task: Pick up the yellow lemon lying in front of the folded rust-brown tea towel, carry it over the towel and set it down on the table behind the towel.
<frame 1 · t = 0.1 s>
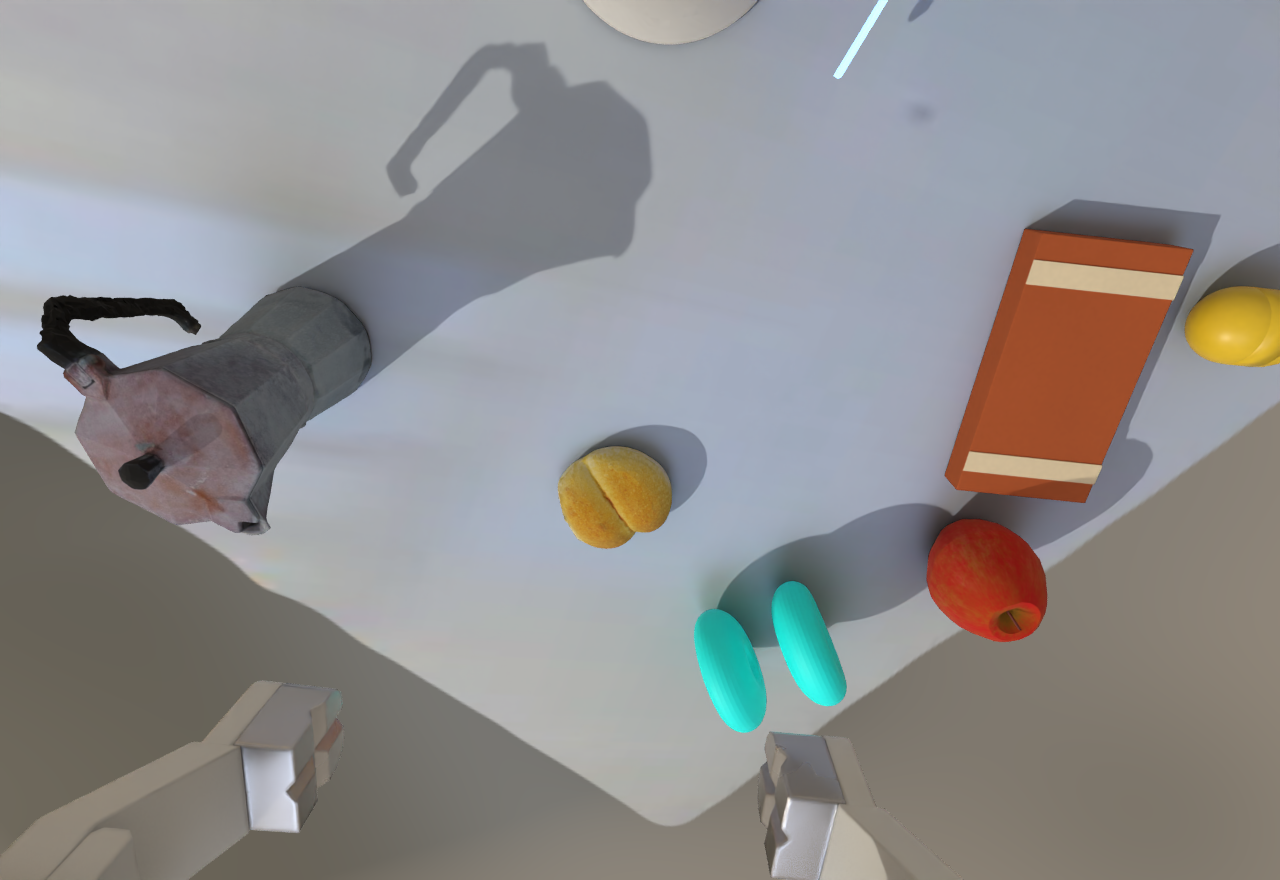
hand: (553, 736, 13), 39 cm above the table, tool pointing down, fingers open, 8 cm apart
tea towel: (1047, 368, 49), on the table
donuts: (760, 614, 59), on the table
bread roll: (614, 490, 55), on the table
apple: (958, 541, 56), on the table
moka pot: (310, 341, 50), on the table
lemon: (1218, 317, 47), on the table
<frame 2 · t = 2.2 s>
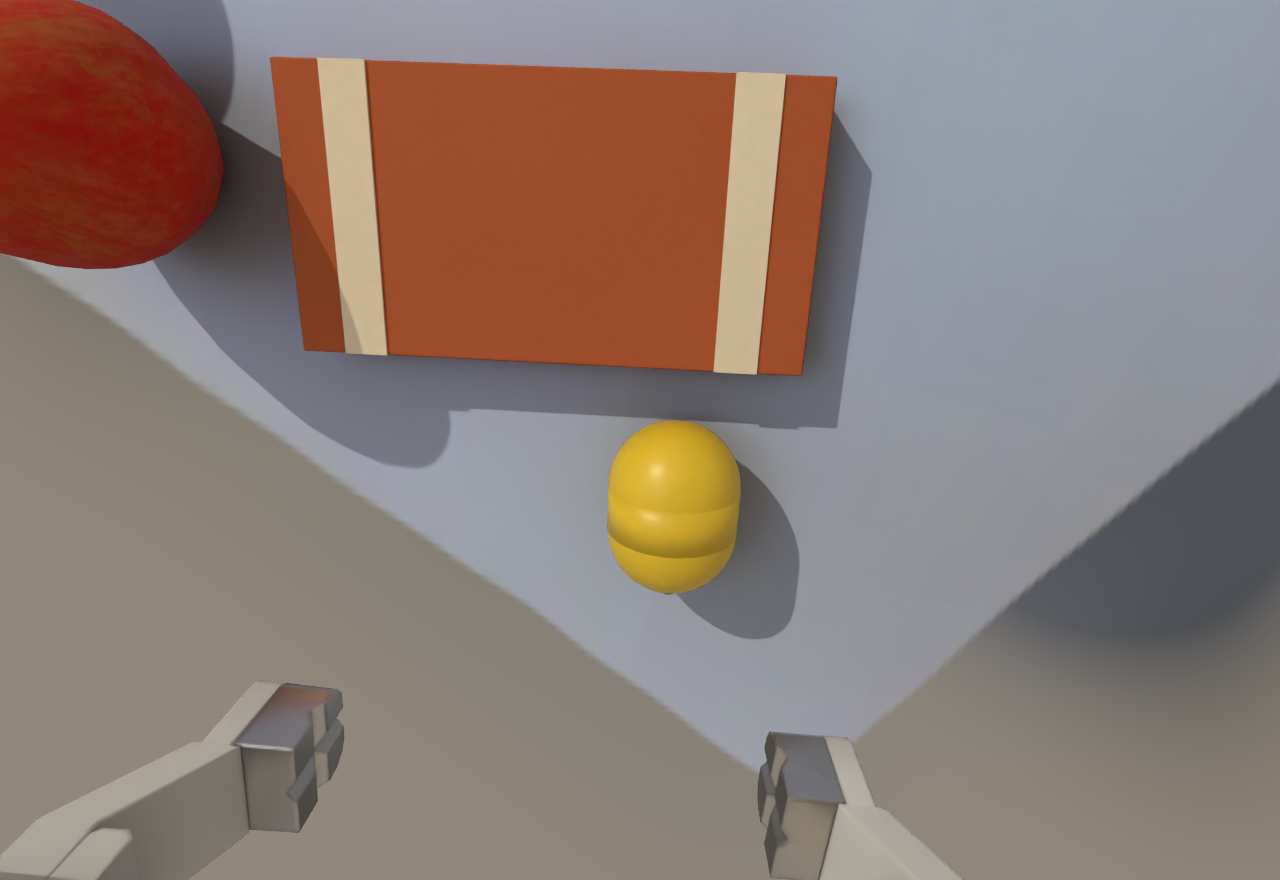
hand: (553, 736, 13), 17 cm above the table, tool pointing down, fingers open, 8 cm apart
tea towel: (560, 224, 26), on the table
apple: (167, 153, 26), on the table
lemon: (673, 482, 29), on the table
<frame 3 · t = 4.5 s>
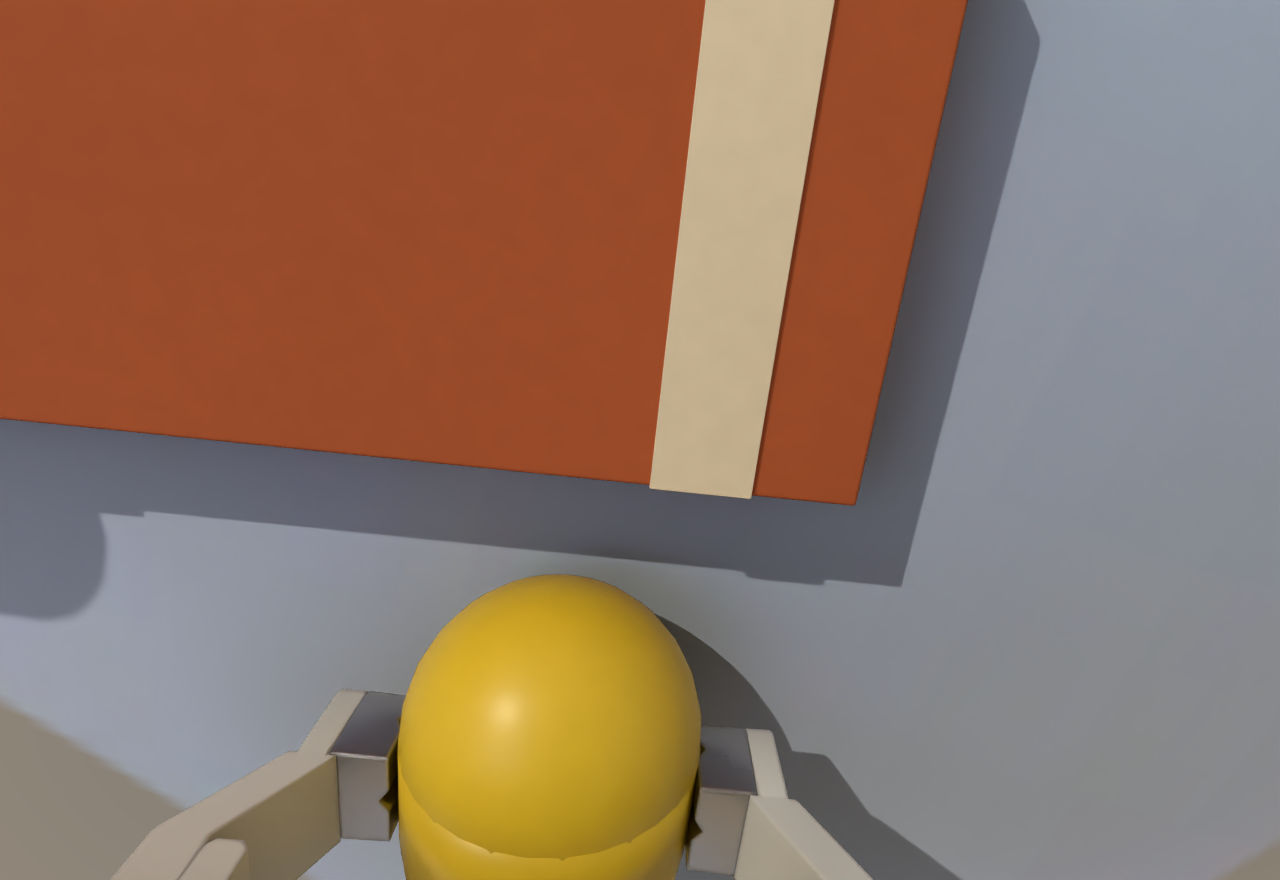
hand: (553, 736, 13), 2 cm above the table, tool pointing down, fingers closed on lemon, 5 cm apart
tea towel: (313, 118, 11), on the table
lemon: (569, 671, 15), on the table, touching gripper
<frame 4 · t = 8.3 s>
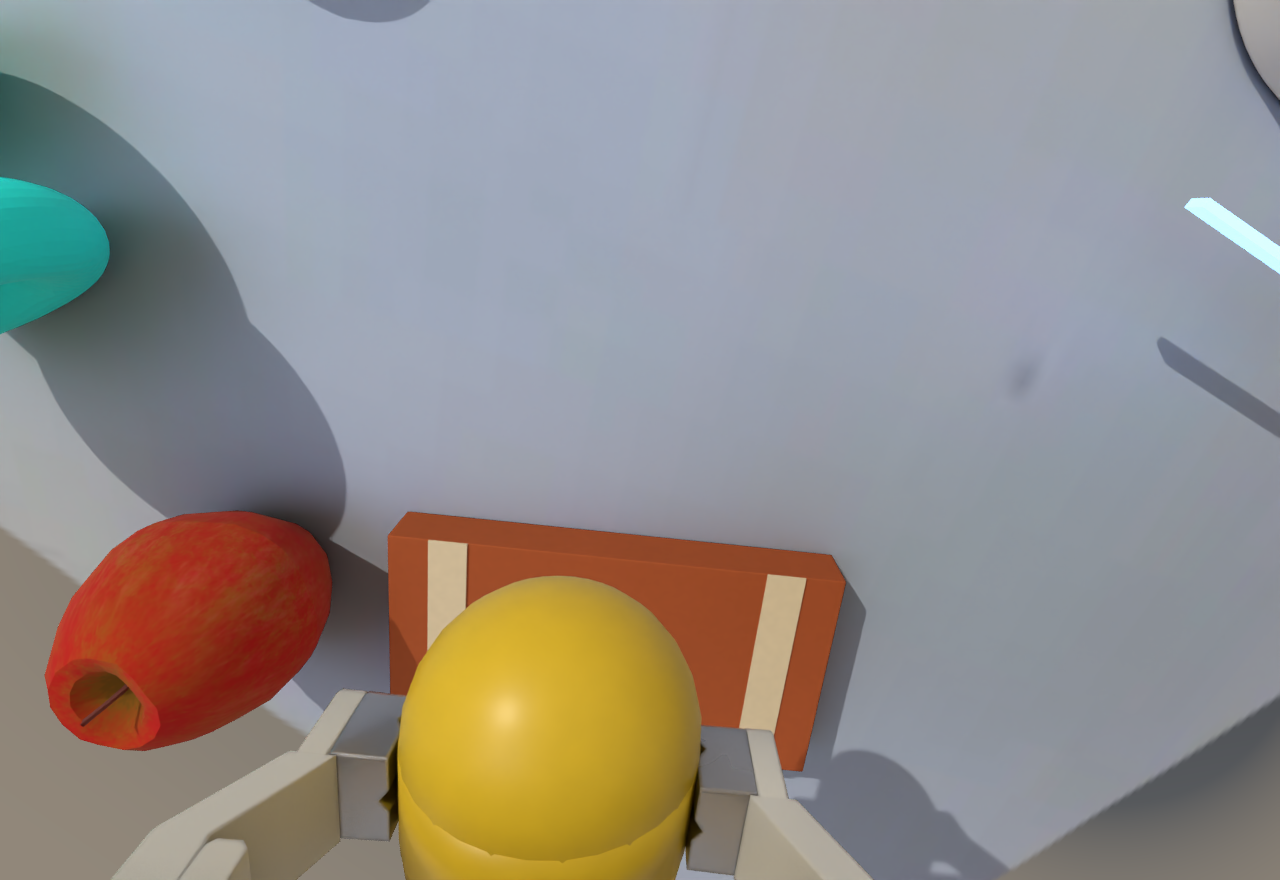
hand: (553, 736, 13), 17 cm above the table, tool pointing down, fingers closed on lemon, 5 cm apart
tea towel: (610, 628, 31), on the table
donuts: (5, 184, 26), on the table
apple: (278, 555, 31), on the table
lemon: (569, 673, 14), point 15 cm above the table, touching gripper
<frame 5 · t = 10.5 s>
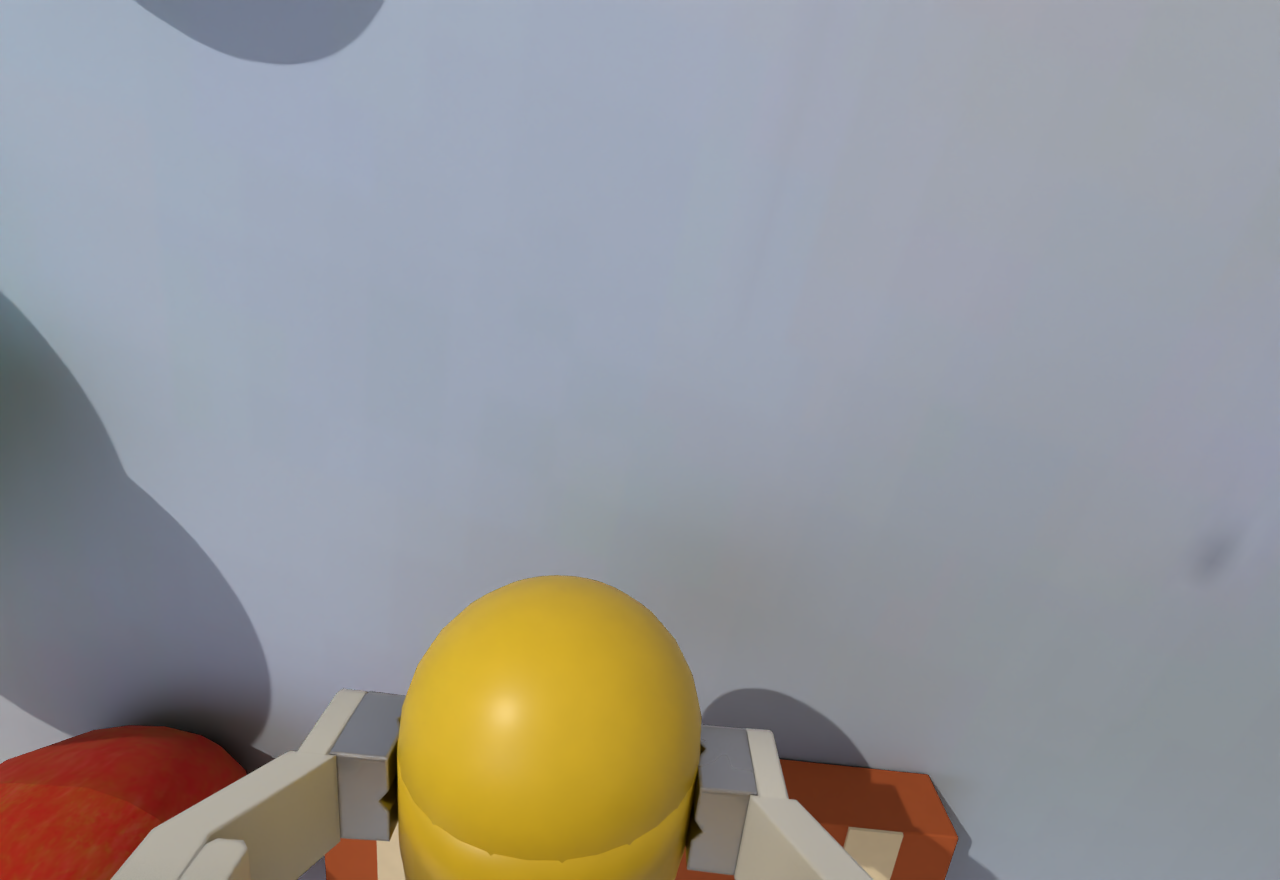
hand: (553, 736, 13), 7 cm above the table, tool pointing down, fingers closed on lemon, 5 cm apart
tea towel: (627, 856, 23), on the table
apple: (185, 762, 23), on the table
lemon: (569, 672, 14), point 5 cm above the table, touching gripper
when the fingers open (2 cm above the table, at t = 12.3 s): lemon stays where it is, on the table.
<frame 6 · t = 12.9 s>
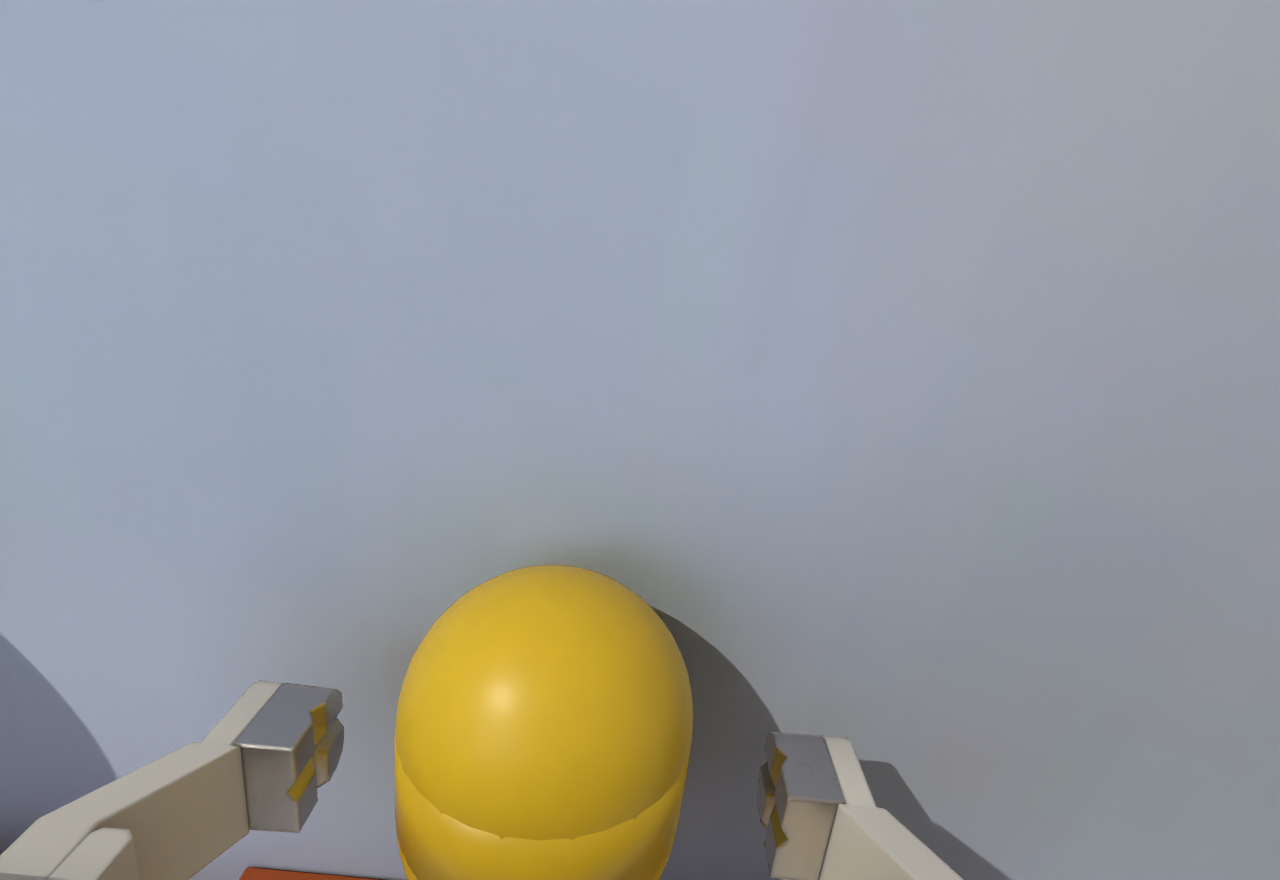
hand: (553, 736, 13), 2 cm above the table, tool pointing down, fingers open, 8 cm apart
lemon: (553, 661, 15), on the table
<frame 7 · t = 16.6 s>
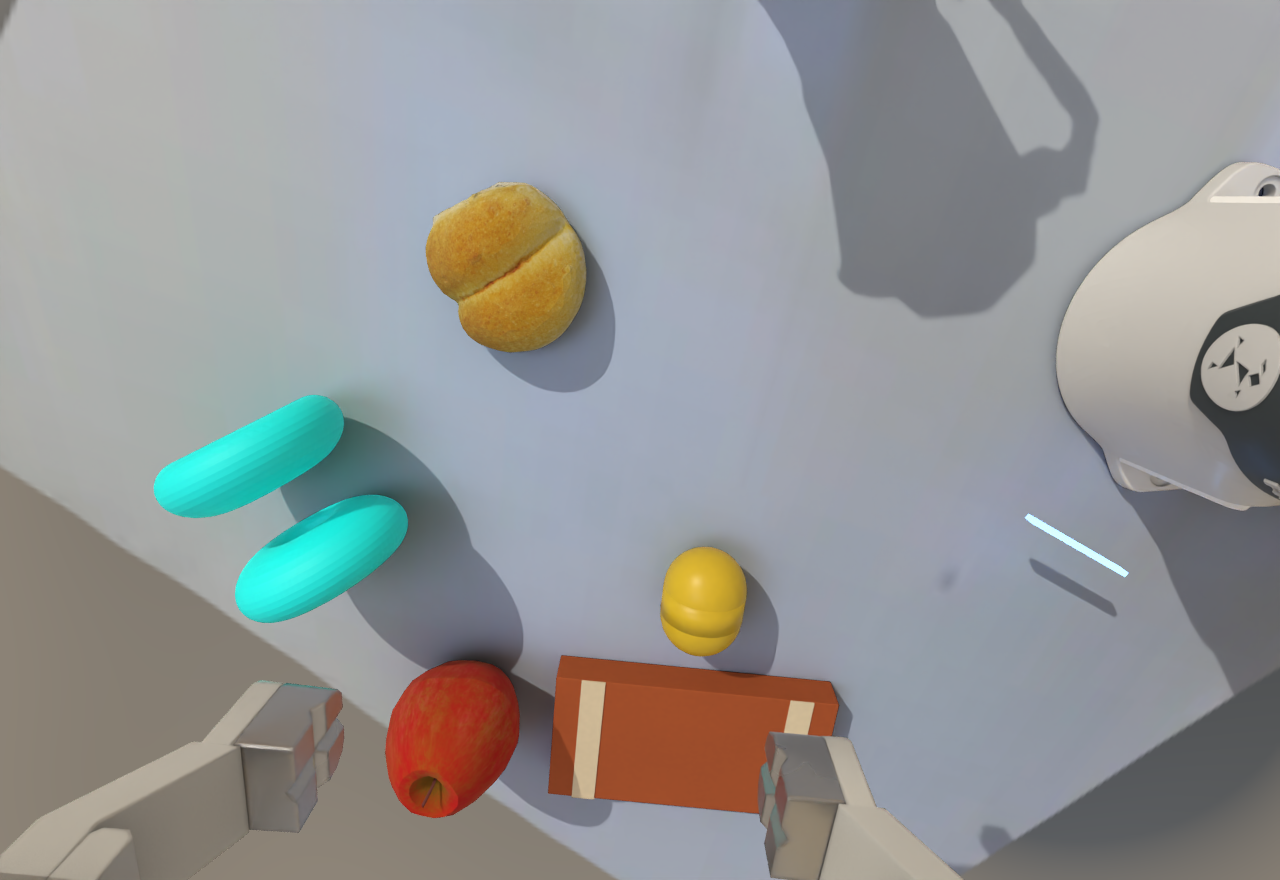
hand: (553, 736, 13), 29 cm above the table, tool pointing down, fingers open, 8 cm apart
tea towel: (687, 725, 48), on the table
donuts: (332, 472, 43), on the table
bread roll: (512, 266, 38), on the table
apple: (475, 680, 48), on the table
lemon: (678, 581, 44), on the table, tilted 35°
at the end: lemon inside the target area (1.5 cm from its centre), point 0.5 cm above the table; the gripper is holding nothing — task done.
